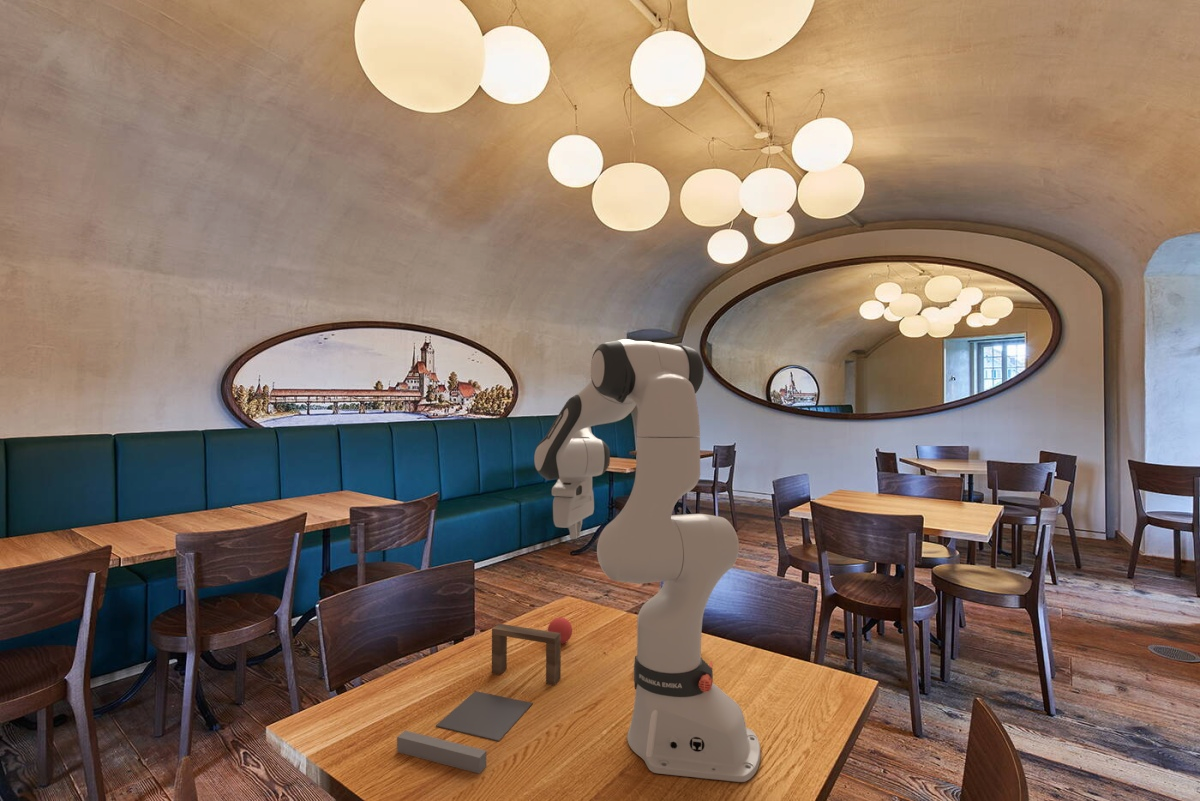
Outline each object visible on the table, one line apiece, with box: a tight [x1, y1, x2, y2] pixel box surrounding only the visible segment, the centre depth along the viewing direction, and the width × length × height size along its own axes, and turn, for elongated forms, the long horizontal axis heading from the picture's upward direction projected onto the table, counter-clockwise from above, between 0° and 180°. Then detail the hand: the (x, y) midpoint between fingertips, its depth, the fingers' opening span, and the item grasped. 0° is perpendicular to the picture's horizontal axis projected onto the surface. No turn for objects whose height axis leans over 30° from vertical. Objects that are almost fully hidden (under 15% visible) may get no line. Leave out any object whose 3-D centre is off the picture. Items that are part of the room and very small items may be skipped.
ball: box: [547, 617, 573, 645], centre depth 137 cm, size 6×6×6 cm
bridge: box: [491, 623, 562, 686], centre depth 120 cm, size 3×15×10 cm, turn 70°
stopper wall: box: [396, 730, 487, 774], centre depth 92 cm, size 16×2×2 cm, turn 70°
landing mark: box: [435, 690, 534, 742], centre depth 105 cm, size 13×13×1 cm
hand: (575, 538), depth 146 cm, fingers closed
